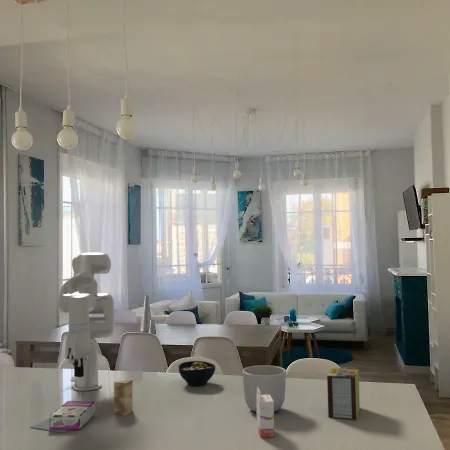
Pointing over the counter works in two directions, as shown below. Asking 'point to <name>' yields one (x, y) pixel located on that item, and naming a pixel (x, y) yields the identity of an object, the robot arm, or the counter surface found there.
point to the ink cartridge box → (265, 415)
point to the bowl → (196, 372)
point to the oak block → (123, 397)
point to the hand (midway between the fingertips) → (78, 376)
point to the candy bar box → (72, 415)
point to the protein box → (343, 392)
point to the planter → (264, 384)
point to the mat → (45, 426)
